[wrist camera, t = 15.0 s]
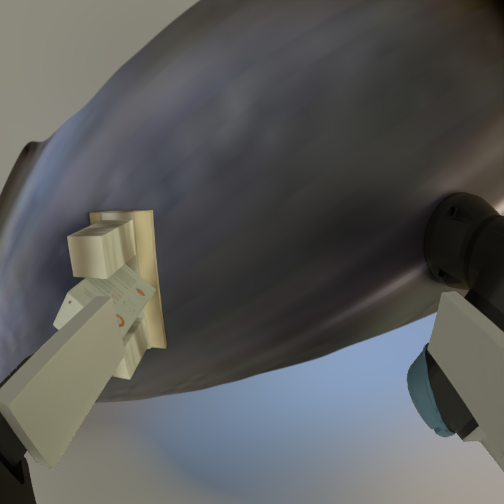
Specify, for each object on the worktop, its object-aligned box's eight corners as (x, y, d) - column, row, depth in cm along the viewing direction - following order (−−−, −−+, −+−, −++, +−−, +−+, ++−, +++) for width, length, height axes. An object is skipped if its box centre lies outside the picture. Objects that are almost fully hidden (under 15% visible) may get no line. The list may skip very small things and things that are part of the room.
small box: (97, 283, 41) (50, 324, 29) (115, 253, 40) (66, 290, 27) (136, 316, 43) (101, 368, 30) (157, 289, 41) (122, 339, 29)
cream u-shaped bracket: (152, 209, 39) (119, 227, 29) (167, 345, 46) (147, 387, 36) (92, 211, 40) (51, 228, 30) (113, 338, 46) (87, 376, 36)
